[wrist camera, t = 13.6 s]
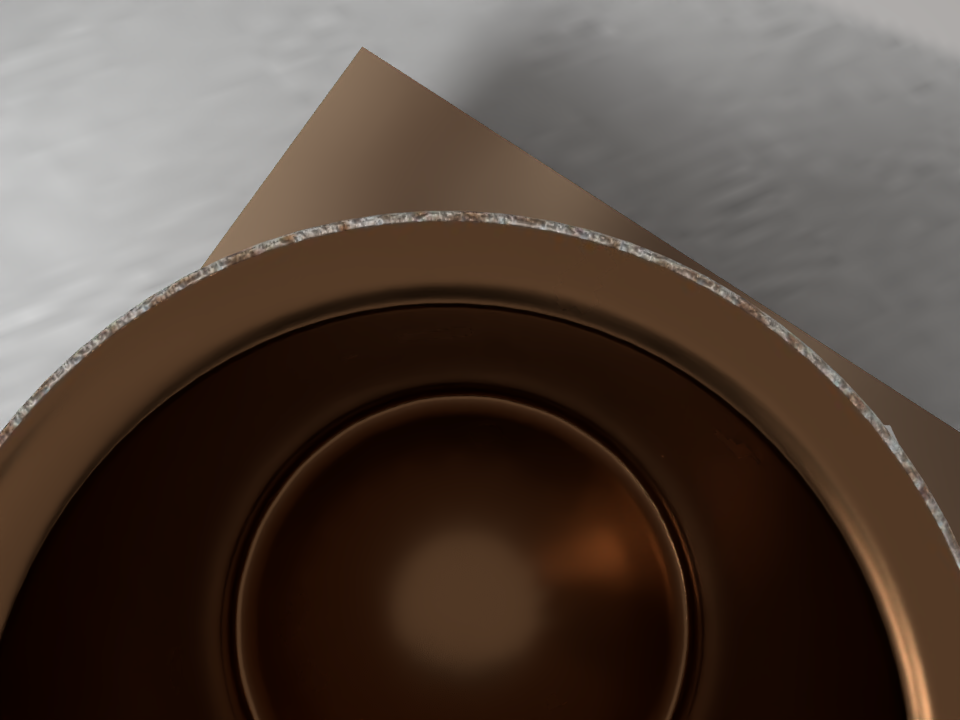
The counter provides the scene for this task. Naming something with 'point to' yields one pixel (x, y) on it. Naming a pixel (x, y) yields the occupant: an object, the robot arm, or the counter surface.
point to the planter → (464, 498)
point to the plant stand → (498, 189)
